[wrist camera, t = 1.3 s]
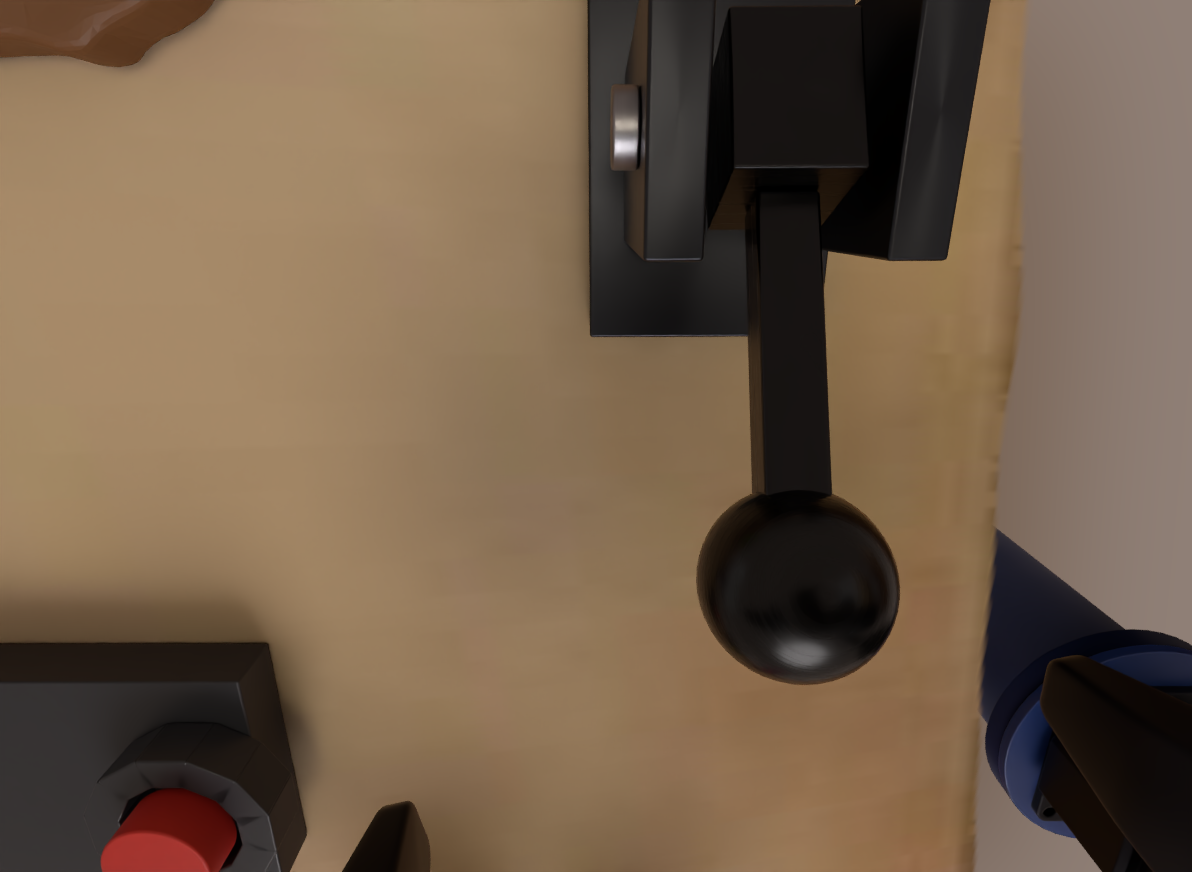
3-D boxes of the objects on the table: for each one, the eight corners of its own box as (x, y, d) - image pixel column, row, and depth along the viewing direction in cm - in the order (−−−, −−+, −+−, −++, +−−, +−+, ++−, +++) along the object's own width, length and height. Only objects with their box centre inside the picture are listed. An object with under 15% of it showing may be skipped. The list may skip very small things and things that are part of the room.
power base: (300, 642, 25) (246, 720, 21) (336, 835, 28) (295, 932, 24) (-42, 643, 25) (-157, 720, 21) (34, 835, 28) (-55, 931, 24)
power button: (227, 786, 22) (197, 831, 21) (246, 861, 23) (219, 910, 22) (124, 785, 22) (86, 832, 21) (148, 861, 23) (114, 910, 22)
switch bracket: (807, 329, 21) (977, 423, 11) (590, 330, 21) (584, 424, 11) (845, -38, 17) (1127, -327, 8) (587, -36, 17) (576, -322, 8)
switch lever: (855, 657, 12) (947, 713, 9) (686, 657, 12) (716, 713, 9) (832, 108, 13) (906, -17, 10) (676, 109, 13) (701, -16, 10)
